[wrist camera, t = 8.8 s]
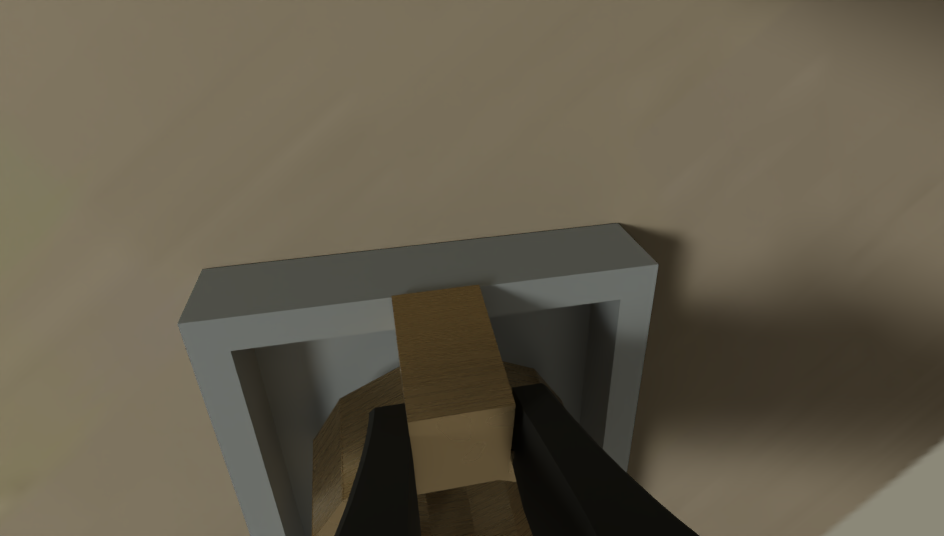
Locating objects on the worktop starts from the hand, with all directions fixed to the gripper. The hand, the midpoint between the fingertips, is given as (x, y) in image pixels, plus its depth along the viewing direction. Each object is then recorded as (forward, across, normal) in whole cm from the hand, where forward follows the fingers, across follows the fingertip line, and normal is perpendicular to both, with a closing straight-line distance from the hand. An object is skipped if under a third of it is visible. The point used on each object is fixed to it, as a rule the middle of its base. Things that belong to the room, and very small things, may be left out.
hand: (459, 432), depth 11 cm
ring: (+3, 0, +2) cm, 3 cm away
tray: (+4, 0, +4) cm, 5 cm away
